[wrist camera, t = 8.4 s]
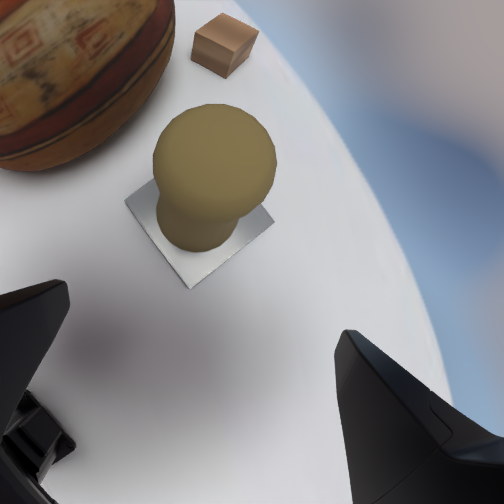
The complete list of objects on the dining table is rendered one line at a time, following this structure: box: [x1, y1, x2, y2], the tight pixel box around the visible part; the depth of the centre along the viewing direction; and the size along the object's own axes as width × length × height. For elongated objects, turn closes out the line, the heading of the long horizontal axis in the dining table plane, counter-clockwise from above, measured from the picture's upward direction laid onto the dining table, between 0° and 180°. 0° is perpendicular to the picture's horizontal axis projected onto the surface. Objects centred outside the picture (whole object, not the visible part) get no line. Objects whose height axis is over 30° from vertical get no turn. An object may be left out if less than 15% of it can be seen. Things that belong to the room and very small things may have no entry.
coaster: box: [124, 179, 274, 289], centre depth 21 cm, size 8×8×1 cm
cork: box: [153, 104, 277, 253], centre depth 16 cm, size 6×6×11 cm
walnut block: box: [191, 13, 259, 79], centre depth 21 cm, size 4×4×4 cm
